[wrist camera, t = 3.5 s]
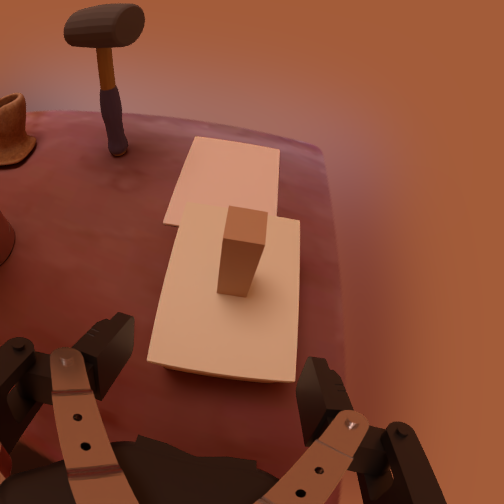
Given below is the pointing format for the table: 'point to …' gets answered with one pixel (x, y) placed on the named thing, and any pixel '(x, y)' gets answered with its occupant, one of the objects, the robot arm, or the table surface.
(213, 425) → the table surface
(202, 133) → the table surface
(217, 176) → the mat
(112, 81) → the rubber mallet
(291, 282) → the lid
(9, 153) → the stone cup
